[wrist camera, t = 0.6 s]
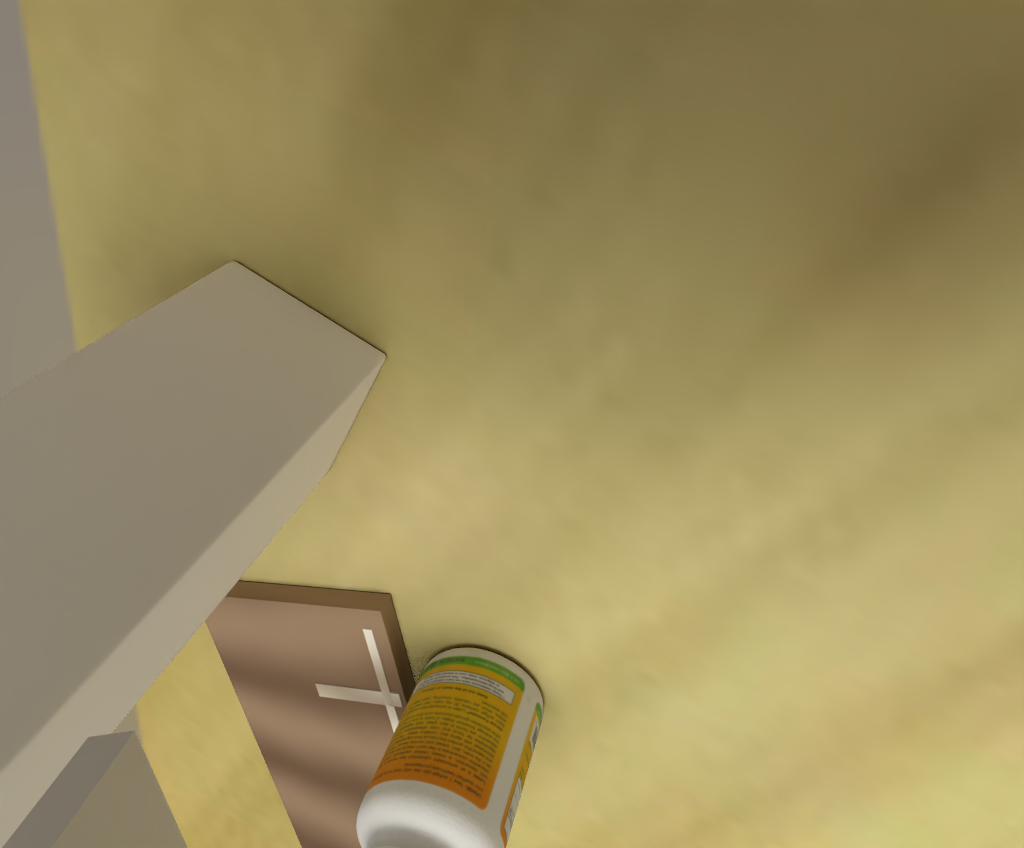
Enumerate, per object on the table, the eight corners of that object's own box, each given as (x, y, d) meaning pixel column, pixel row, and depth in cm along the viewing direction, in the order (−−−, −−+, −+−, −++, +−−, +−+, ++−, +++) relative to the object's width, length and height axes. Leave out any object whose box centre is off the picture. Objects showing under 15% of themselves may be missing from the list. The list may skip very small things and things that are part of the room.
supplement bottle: (400, 656, 34) (288, 878, 26) (504, 631, 31) (415, 867, 23) (466, 741, 36) (379, 973, 28) (568, 723, 33) (506, 972, 25)
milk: (389, 353, 26) (-449, 1283, 8) (328, 473, 30) (-357, 1319, 11) (230, 254, 26) (-1026, 990, 8) (187, 387, 29) (-755, 1117, 11)
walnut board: (207, 578, 35) (192, 594, 34) (390, 594, 32) (379, 612, 31) (329, 876, 45) (321, 894, 44) (475, 906, 43) (468, 926, 42)
